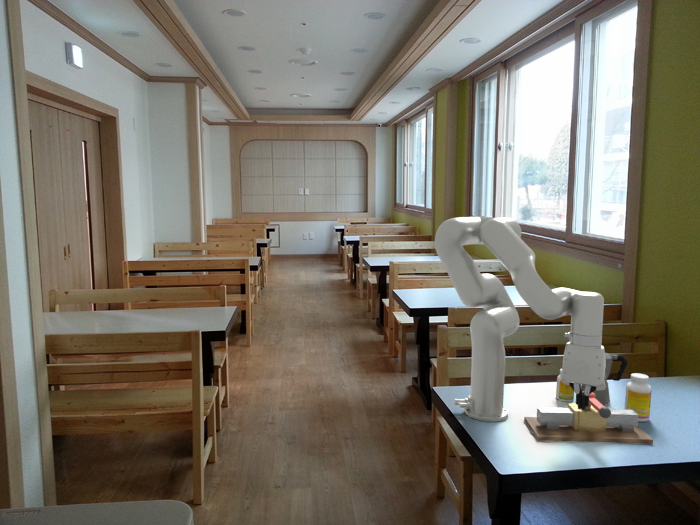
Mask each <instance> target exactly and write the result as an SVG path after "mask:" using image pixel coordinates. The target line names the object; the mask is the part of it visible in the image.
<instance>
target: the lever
mask: <svg viewBox="0 0 700 525" xmlns="http://www.w3.org/2000/svg"><path fill="white" fill-rule="evenodd" d="M583 392H584V391H583ZM591 406H593V407H594V408H595V409H596V410H597V411H598V412H599V414H600V416H601V417H602V418H609V417H610V416H611V411H610V409H611V408H608V407H606V406H605V405H604V406H603V405H602V404H601V403H600V402H599V401H598V400H597V399H595V393H593V392H592V393H591V394H589V406H588V407H587V406H586V407H587V408H590V407H591Z"/></svg>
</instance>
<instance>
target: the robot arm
mask: <svg viewBox="0 0 700 525" xmlns="http://www.w3.org/2000/svg"><path fill="white" fill-rule="evenodd" d="M522 232H523V231H522V228H521V226H520V223H519V222H518V221H517V220H515V219H513V218H511V217H491V216H490V217H485V216H458V217H452V218H449V219H446V220H444V221H443V222H442V223H440V225H439V227H438V228H437V230H436V233H435V236H434V248H435V251H436V254H437V256H438V258H439V260H440V262H441V263H442V265H443V266H444V269H445V271H446V272H447V275H448V276H449V279H450V281H451V284H452V286H453V287H454V289H455V291H456V293H457V296H458V297H459V300H460V301H461V302H462V304H463V305H464V306H466V307H467V308H470V309H472V308H473V309H474V308H480V307H482V309H481V310H480V311H478V312H476V314H475V315H473V317H472V318H471V320H470V325H469V330H470V339H471V340H470V341H471V368H470V369H471V370H470V371H471V372H470V394H468V395H467V397H464V398H453V405H454V406H459V408H460V409H461V408H463V409H464V413H465V415H466V416H468V417H470V419H471V418H472V419H473V420H474V419H475V420H477V421H482V422H490V423H491V422H493V423H494V422H501V421H504V420H506V419H507V418H508V417H509V411H508V410H507V408H505V407H504V394H505V393H504V392H505V390H504V389H505V373H506V350H505V346H504V338H507V337H509V336H511V335H513V334H515V333H516V332H517V331H518V329H519V327H520V322H521V321H520V316H519V313H518V310H517V309H516V306H515V305H514V303H513V301H512V299H511V297H510V295H509V294H508V291H507V289H506V287H505V286H504V284H503V282H502V281H501V280H500V278H498V276H496V275H494V274H491V273H487V272H486V273H481V272H480V271H479V269H478V267H477V265H476V263H475V261H474V259H473V258H472V256H471V255H470V254H469V252H467V251H466V249H465V248H464V246H469V245H484V246H485V247H487V249H488V250H489V251H490V252H491V253H492V254H493V255H494V257H496V259H497V260H498V261H499V262H500V264H502V265H503V266H504V268H505V269H506V270H507V271H508V272H509V274H510V276H511V280H512V282H513V284H514V287H515V289H516V291H517V293H518V295H519V296H520V298H521V299H522V300H523V301H524V302H525V303H526V304H527V305H528V307H529V308H530V309H531V310H532V311H533V312H534V313H535V314H536V315H538V316H539V318H542V319H544V320H549V321H552V320H557V319H559V318H562V317H566V316H571V317H570V330H569V331H568V332H564V336H563V337H564V338H566V339H567V340H569V341H568V342H566V344H565V348H564V352H563V358H562V367H561V369H562V380H561V381H562V383H564V384H567V385H570V386H571V388H572V389H573V390H574V394H575V403H576V404H577V405H578V409H582V410H585V408H586V406H587V407H588V406H589V394H591V393H592V392H594V391H595V390H605V388H606V385H605V378H606V360H605V353H606V351H605V347H604V345H602V342H603V340H602V339H603V326H604V325H603V322H604V307H605V298H604V296H603V295H602V294H601V293H599V292H595V291H581V290H576V289H572V288H568V287H563V286H562V287H557V288H552V289H551V288H550V287H549V286H548V284H547V283H546V282H544V280H543V279H542V278H541V276H540V275H539V273H538V272H537V269H536V264H535V263H536V254H535V252H534V250H532V248H531V247H529V246H528V244H526V243H525V241H524V240H523V239H522V235H523V233H522ZM581 385H586V387H585V391H584V392H583V391H582V388H581Z"/></svg>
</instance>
